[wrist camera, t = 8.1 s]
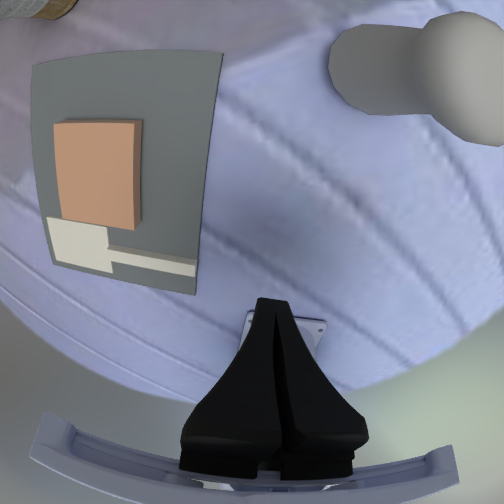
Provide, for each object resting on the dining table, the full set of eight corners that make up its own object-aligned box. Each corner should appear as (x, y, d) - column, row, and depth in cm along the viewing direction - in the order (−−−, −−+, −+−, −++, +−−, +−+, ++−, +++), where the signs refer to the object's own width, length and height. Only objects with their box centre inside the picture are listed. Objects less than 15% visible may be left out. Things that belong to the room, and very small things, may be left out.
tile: (134, 230, 20) (62, 218, 20) (142, 220, 22) (72, 209, 21) (134, 123, 16) (53, 123, 15) (143, 119, 17) (65, 119, 17)
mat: (195, 292, 26) (194, 295, 26) (54, 262, 25) (52, 264, 25) (223, 53, 15) (222, 53, 14) (35, 65, 14) (32, 65, 14)
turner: (198, 240, 22) (196, 246, 22) (195, 287, 25) (193, 293, 25) (48, 215, 22) (43, 219, 21) (57, 258, 24) (53, 262, 24)
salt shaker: (327, 20, 13) (424, -54, 2) (407, 45, 13) (557, 48, 2) (315, 100, 16) (400, 146, 6) (394, 120, 16) (529, 199, 6)
